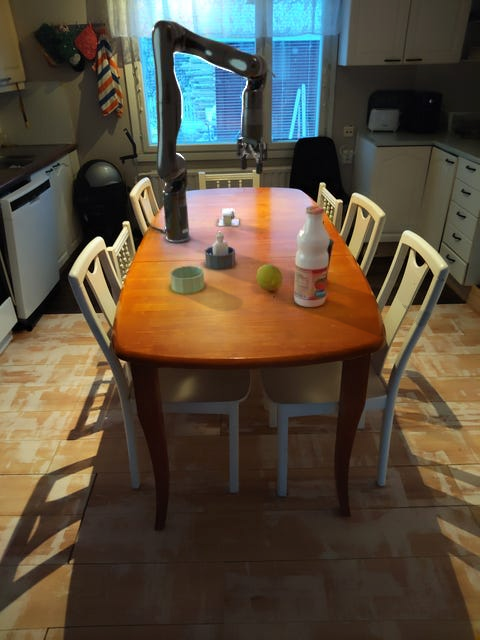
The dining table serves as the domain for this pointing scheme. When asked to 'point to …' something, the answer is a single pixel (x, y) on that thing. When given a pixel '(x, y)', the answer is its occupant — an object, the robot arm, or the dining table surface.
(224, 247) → the eye dropper bottle
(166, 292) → the dining table surface
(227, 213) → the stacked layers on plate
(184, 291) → the celadon cup
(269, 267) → the lemon
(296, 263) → the fruit juice
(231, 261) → the slate cup
